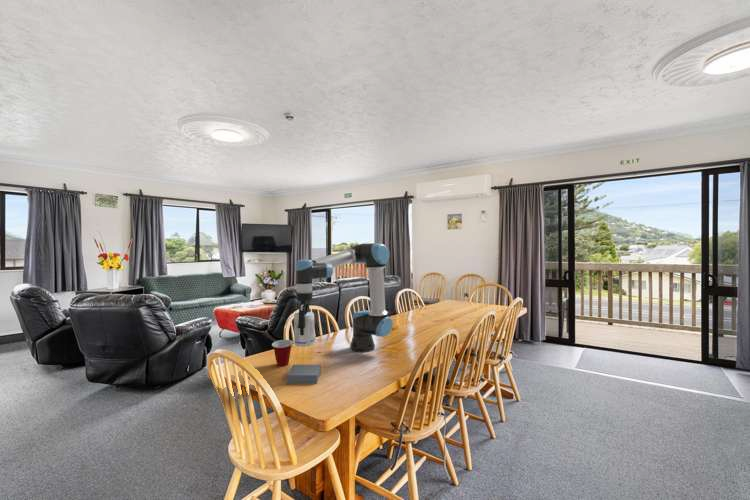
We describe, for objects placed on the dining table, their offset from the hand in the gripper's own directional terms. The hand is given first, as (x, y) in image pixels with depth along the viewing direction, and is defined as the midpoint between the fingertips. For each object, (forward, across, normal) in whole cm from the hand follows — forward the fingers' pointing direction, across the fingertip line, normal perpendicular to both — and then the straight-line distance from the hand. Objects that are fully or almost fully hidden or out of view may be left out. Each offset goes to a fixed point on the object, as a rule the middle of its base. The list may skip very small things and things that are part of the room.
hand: (304, 338), depth 165 cm
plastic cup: (+19, -18, -15) cm, 30 cm away
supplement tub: (+3, 0, 0) cm, 3 cm away
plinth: (+19, 0, 0) cm, 19 cm away
